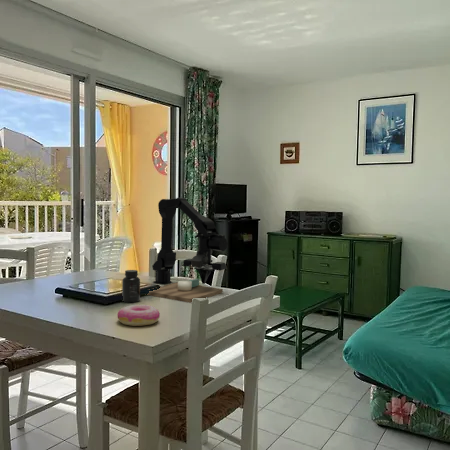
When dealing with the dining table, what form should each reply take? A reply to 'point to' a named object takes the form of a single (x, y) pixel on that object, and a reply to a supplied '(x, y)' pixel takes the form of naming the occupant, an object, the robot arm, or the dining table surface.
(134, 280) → the supplement bottle
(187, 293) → the walnut base
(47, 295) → the dining table surface
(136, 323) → the donut
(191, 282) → the green and white block
